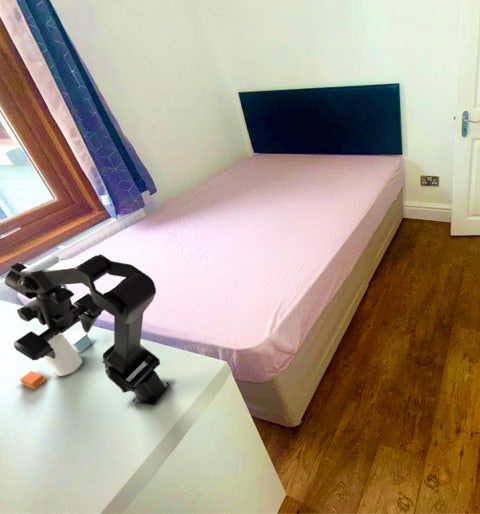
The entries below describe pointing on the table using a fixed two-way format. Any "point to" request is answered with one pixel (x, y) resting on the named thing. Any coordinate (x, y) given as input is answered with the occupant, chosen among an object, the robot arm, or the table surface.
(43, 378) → the orange rectangular block
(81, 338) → the box
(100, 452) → the table surface
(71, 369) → the can
